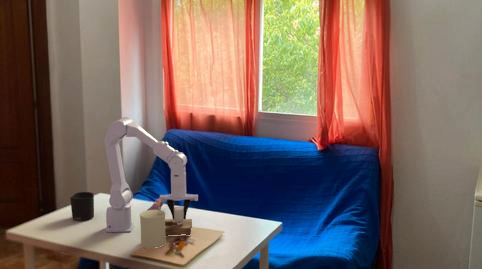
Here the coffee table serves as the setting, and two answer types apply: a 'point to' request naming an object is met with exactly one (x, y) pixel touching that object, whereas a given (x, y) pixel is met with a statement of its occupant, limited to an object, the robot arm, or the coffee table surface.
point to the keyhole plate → (178, 227)
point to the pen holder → (82, 206)
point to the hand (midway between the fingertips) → (179, 218)
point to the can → (152, 228)
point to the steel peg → (179, 215)
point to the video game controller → (157, 205)
